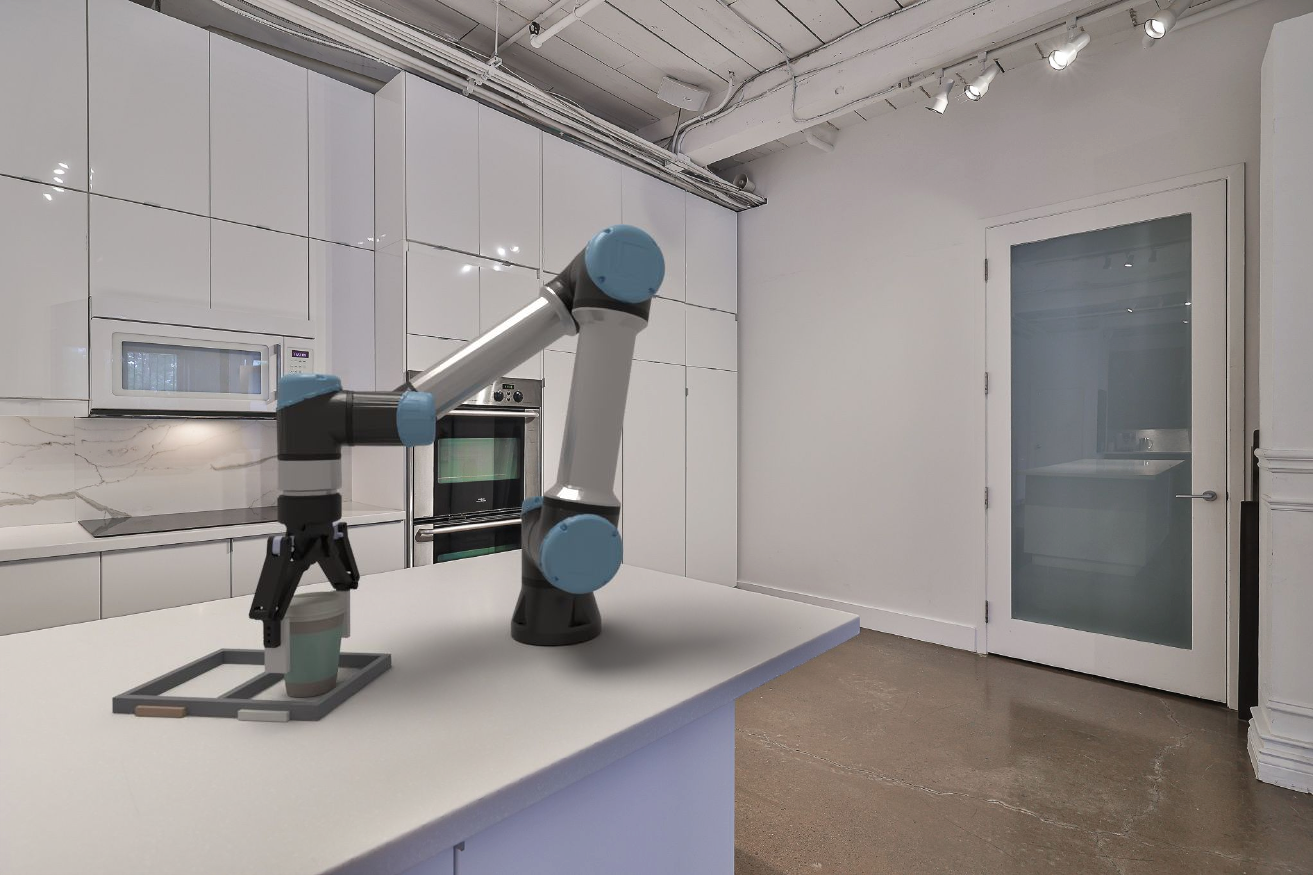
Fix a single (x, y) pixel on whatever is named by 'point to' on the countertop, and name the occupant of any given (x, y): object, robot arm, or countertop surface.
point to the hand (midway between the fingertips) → (310, 653)
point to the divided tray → (245, 690)
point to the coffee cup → (314, 642)
